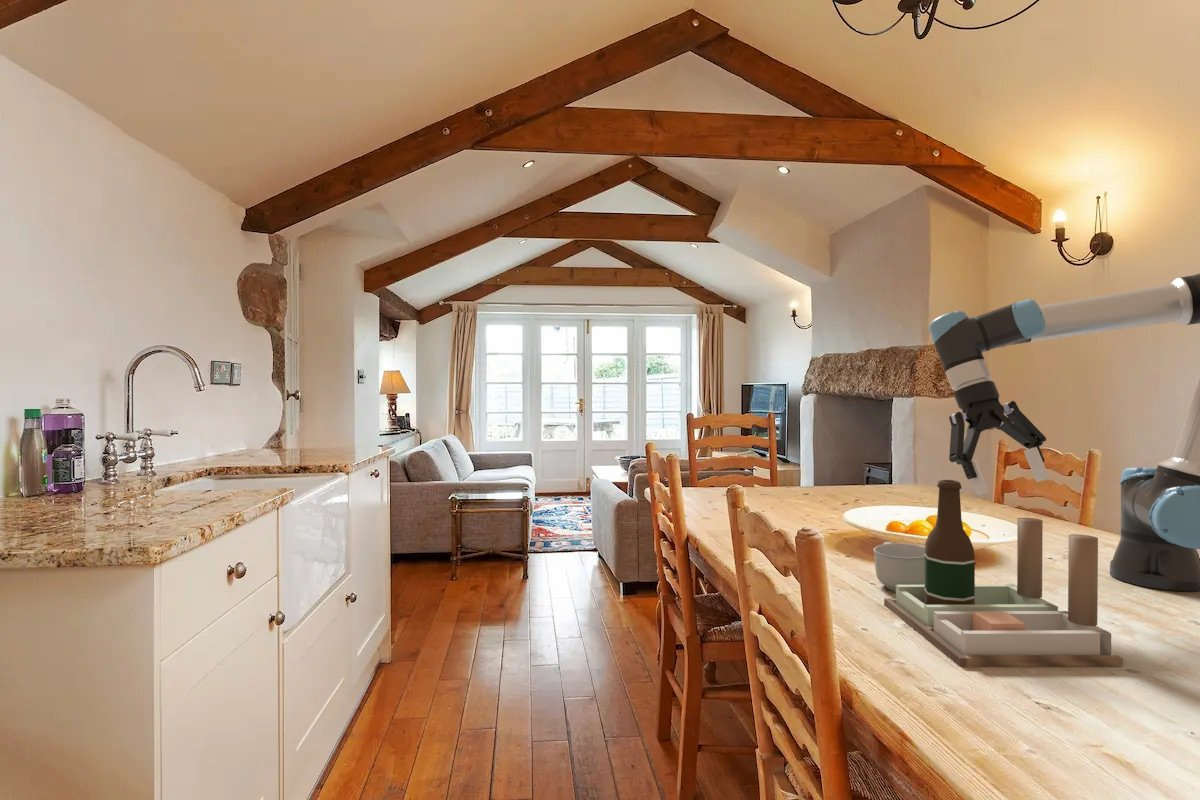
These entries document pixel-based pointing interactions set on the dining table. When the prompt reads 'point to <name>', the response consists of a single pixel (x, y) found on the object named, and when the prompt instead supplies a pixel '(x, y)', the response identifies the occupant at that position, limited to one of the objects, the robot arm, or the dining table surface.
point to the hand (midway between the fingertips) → (1013, 487)
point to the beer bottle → (949, 553)
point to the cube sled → (1041, 618)
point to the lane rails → (1002, 659)
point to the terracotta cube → (996, 622)
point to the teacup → (900, 564)
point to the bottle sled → (994, 595)
